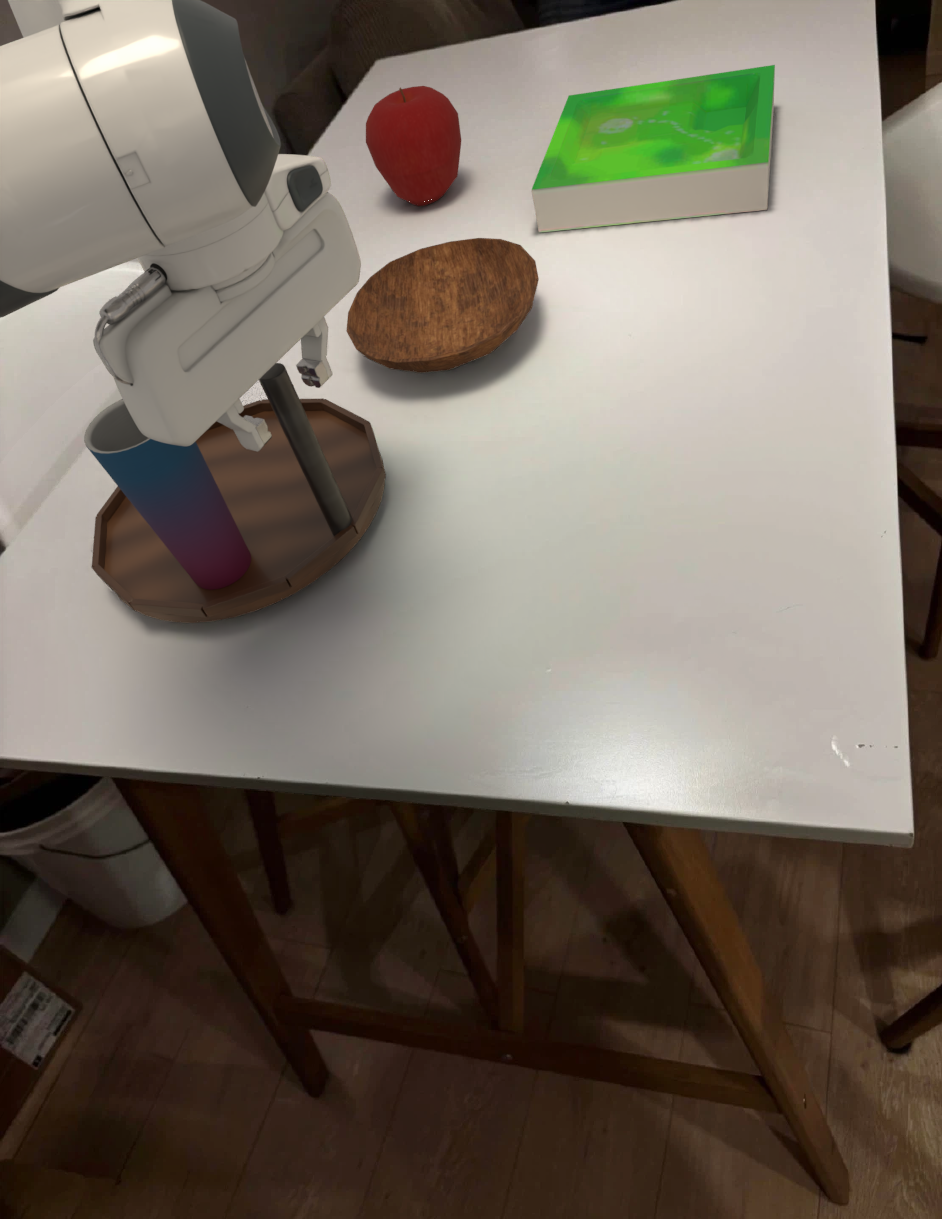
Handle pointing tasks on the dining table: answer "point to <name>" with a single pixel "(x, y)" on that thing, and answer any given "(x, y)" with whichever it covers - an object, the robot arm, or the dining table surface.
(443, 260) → the bowl
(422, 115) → the apple
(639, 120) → the green flat block
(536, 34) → the dining table surface
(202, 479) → the cup
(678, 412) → the dining table surface
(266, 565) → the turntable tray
